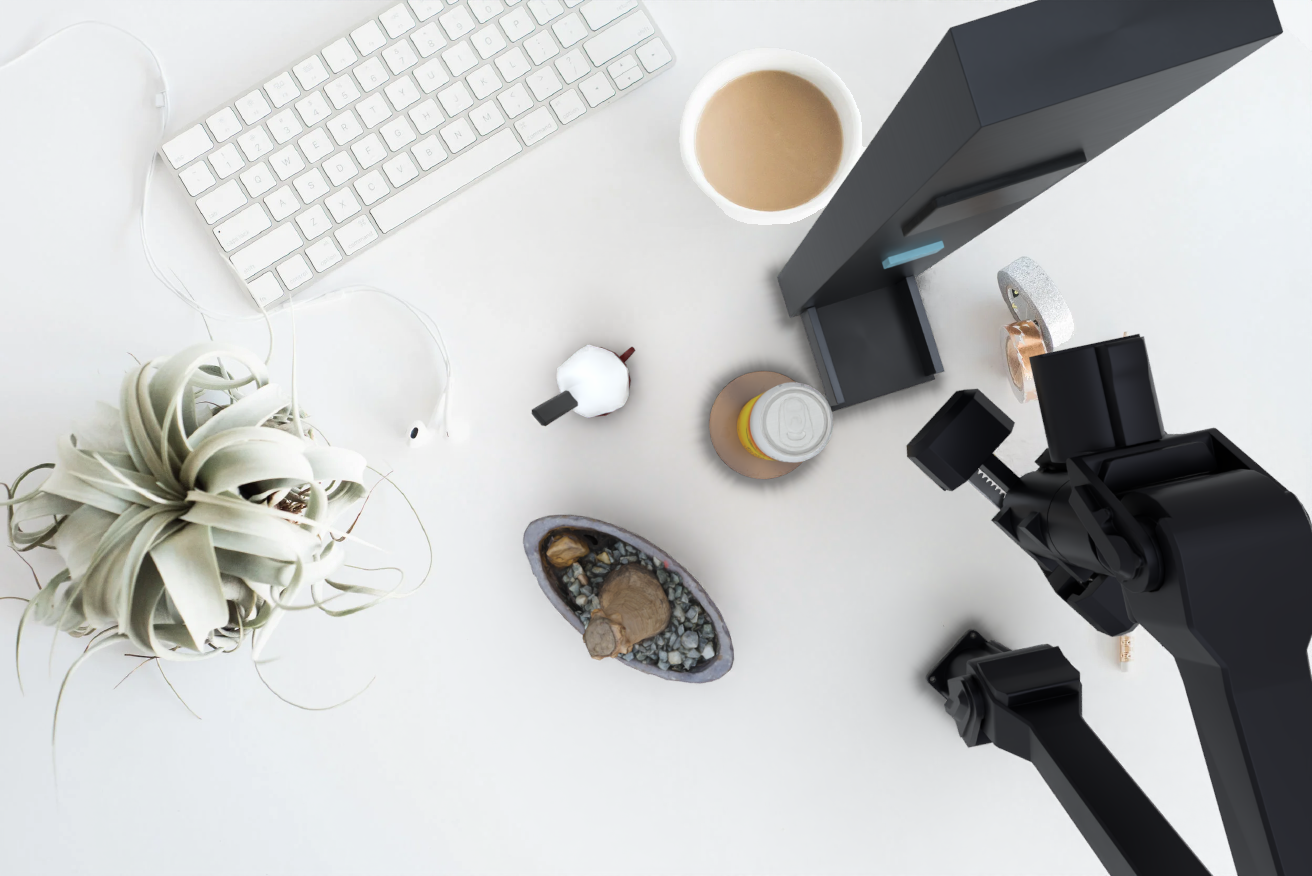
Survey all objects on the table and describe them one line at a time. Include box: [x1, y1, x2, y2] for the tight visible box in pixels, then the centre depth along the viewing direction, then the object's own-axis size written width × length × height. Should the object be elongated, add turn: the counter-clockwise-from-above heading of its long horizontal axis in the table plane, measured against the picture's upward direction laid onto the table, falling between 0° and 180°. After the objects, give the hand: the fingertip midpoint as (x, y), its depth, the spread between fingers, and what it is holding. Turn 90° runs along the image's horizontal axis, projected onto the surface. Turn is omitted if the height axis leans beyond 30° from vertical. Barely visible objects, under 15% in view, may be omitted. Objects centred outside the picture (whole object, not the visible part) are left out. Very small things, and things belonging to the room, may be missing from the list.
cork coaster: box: [708, 370, 804, 480], centre depth 77 cm, size 10×10×1 cm
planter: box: [522, 514, 735, 684], centre depth 67 cm, size 15×17×20 cm
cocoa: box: [531, 344, 637, 427], centre depth 71 cm, size 10×6×12 cm, turn 109°
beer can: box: [737, 381, 834, 463], centre depth 69 cm, size 6×6×15 cm
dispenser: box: [776, 0, 1284, 413], centre depth 54 cm, size 14×12×46 cm
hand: (989, 503), depth 64 cm, fingers open, 9 cm apart
